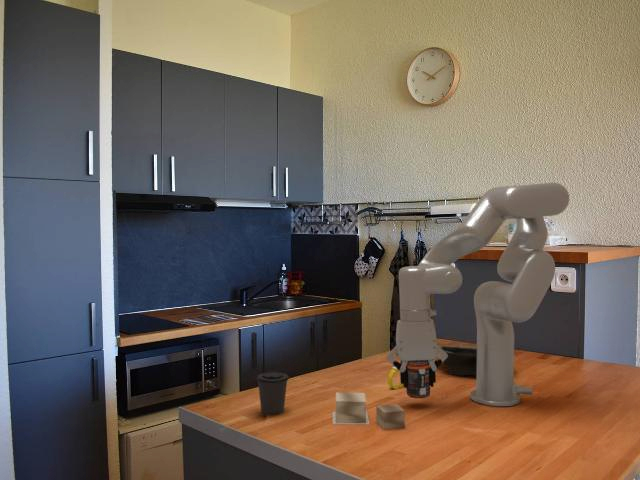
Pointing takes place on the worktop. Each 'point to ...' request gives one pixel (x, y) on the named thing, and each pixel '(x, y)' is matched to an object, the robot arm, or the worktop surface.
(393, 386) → the watch
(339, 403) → the maple block
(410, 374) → the supplement bottle
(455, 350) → the black cooking pot
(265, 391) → the coffee cup
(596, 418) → the worktop surface
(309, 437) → the worktop surface
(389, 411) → the oak block
